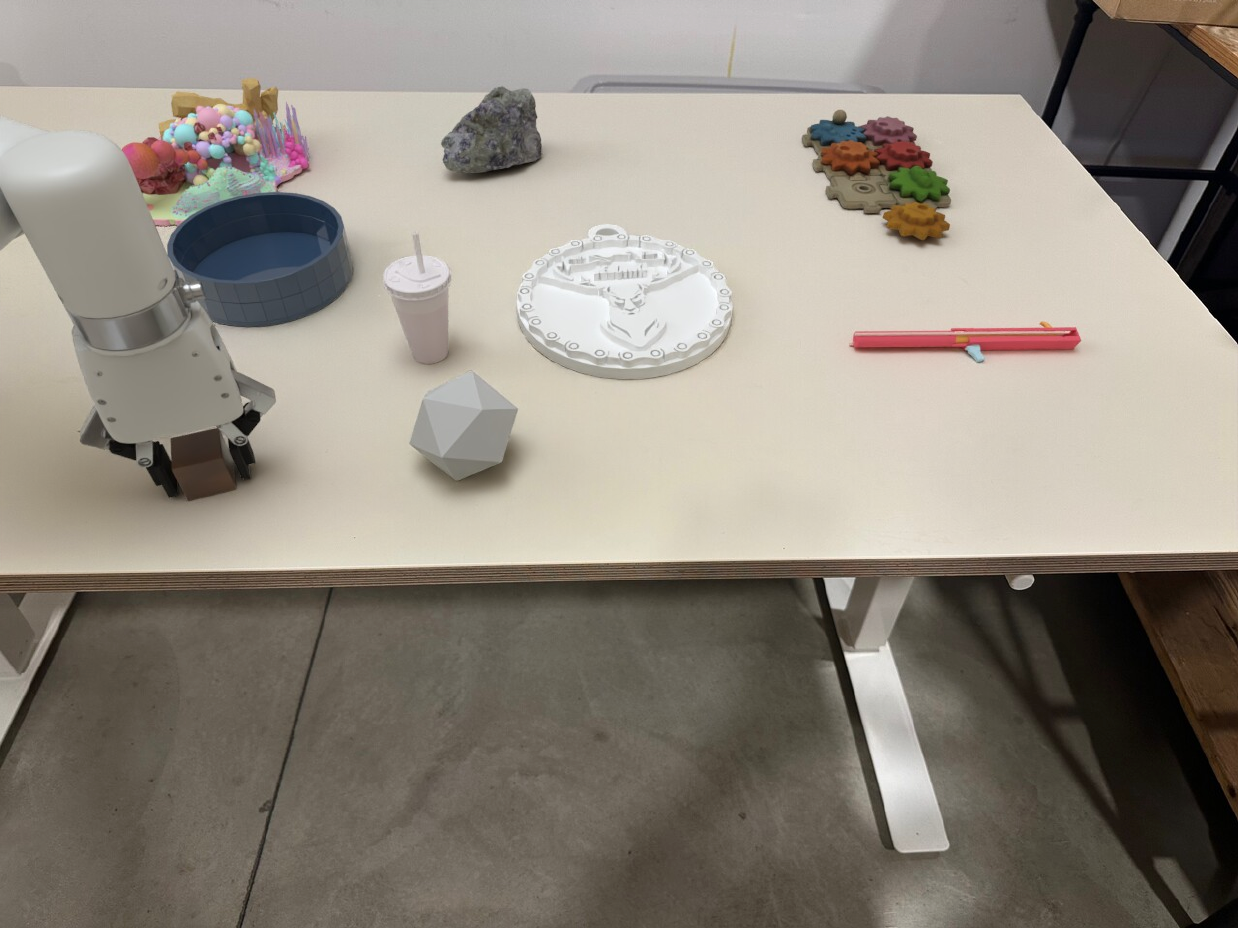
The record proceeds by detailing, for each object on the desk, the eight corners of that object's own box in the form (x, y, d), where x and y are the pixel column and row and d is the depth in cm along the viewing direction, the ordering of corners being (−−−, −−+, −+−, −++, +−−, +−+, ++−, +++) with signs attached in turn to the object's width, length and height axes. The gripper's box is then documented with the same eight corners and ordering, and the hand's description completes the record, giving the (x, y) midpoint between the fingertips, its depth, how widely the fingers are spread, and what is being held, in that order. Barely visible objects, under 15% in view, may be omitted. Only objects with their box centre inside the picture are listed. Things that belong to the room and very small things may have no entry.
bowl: (188, 342, 89) (169, 298, 85) (181, 249, 101) (165, 207, 97) (365, 307, 94) (355, 264, 90) (340, 223, 106) (330, 181, 102)
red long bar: (1076, 365, 91) (1065, 328, 93) (1087, 354, 89) (1075, 317, 91) (853, 367, 90) (846, 330, 92) (859, 356, 88) (852, 318, 90)
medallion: (526, 389, 85) (525, 370, 84) (507, 240, 104) (506, 223, 102) (755, 369, 88) (759, 351, 87) (698, 228, 107) (700, 211, 105)
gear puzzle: (979, 247, 105) (990, 217, 102) (849, 249, 104) (857, 219, 101) (903, 130, 126) (911, 102, 124) (795, 131, 125) (800, 103, 122)
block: (187, 501, 74) (171, 469, 71) (185, 469, 77) (170, 437, 74) (236, 489, 75) (222, 458, 73) (233, 458, 78) (219, 426, 75)
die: (480, 414, 84) (404, 361, 77) (549, 406, 78) (474, 348, 71) (454, 494, 81) (372, 446, 73) (524, 492, 75) (443, 440, 68)
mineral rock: (444, 183, 113) (433, 107, 106) (449, 144, 120) (439, 71, 113) (542, 181, 114) (539, 106, 106) (541, 143, 121) (538, 70, 114)
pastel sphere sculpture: (127, 142, 118) (99, 74, 112) (304, 122, 124) (288, 56, 117) (114, 238, 102) (81, 165, 95) (319, 210, 107) (301, 139, 101)
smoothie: (450, 376, 86) (431, 255, 76) (389, 367, 87) (362, 247, 77) (469, 337, 91) (453, 218, 81) (410, 329, 91) (388, 210, 81)
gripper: (248, 260, 67) (304, 426, 81) (3, 303, 63) (104, 472, 76) (257, 315, 63) (315, 482, 76) (-8, 365, 58) (102, 534, 71)
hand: (209, 475), depth 76 cm, fingers open, 5 cm apart
